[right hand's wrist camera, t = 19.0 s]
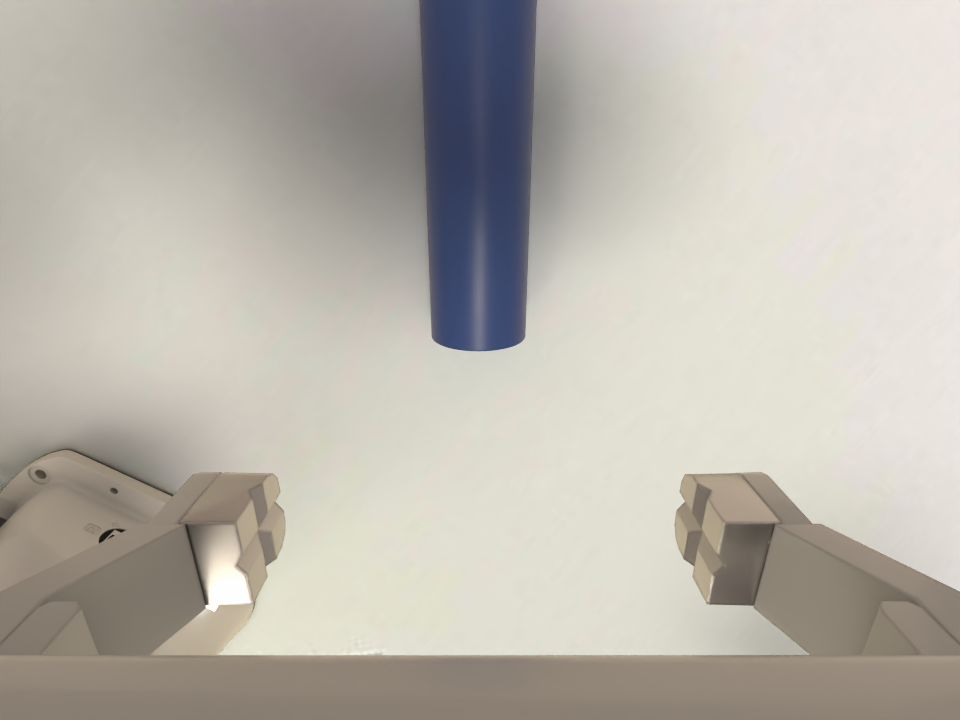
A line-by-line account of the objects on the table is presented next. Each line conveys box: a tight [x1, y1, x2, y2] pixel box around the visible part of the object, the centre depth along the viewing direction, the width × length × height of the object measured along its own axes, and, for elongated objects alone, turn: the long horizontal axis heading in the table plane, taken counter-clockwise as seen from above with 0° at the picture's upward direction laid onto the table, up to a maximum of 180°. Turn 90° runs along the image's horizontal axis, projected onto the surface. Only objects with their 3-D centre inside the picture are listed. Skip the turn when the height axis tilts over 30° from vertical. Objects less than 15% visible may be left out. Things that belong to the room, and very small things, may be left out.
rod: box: [420, 0, 537, 351], centre depth 29 cm, size 26×6×6 cm, turn 0°
